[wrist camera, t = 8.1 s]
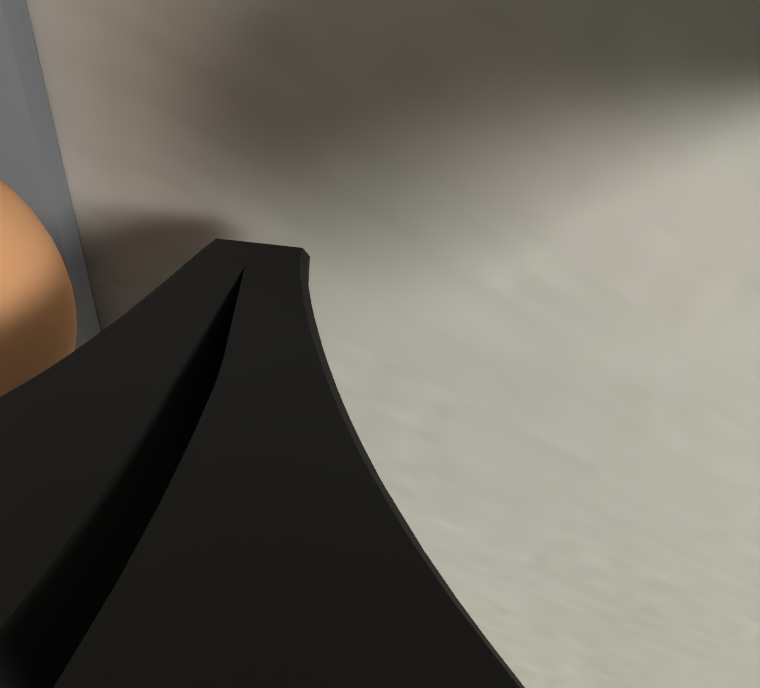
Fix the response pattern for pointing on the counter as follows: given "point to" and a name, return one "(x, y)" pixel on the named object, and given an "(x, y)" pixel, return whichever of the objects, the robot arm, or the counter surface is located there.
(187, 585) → the robot arm
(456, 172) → the counter surface
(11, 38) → the lane
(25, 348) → the ball
